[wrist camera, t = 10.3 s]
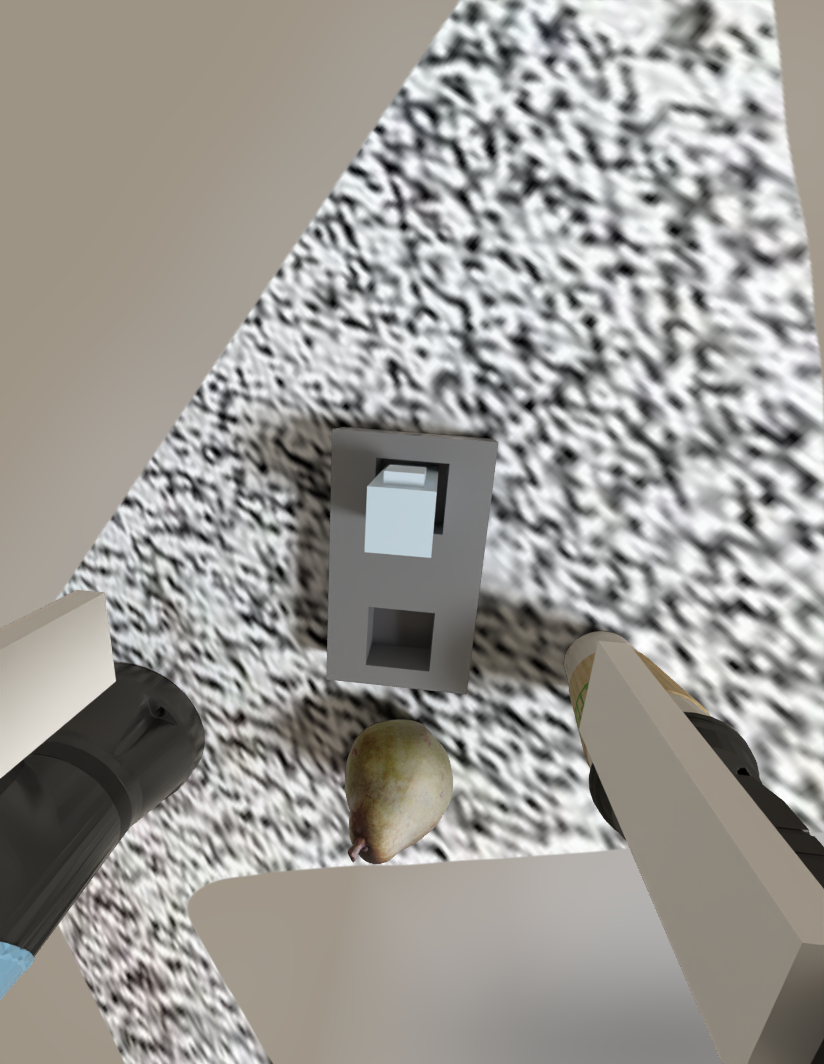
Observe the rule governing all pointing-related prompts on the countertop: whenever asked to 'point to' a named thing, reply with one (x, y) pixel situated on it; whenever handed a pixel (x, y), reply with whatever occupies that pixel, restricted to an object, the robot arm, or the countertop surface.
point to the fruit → (395, 788)
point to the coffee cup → (712, 730)
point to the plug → (401, 510)
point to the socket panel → (407, 564)
